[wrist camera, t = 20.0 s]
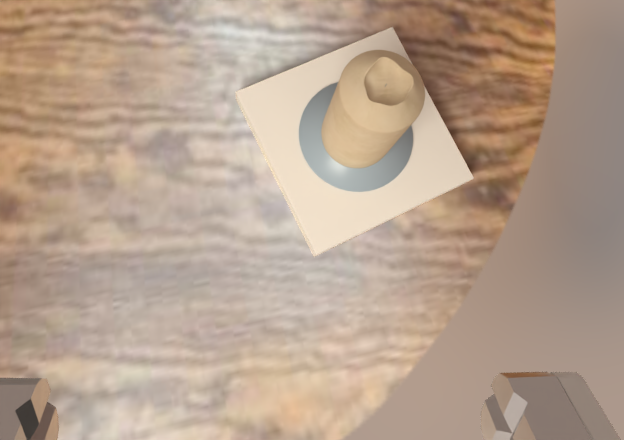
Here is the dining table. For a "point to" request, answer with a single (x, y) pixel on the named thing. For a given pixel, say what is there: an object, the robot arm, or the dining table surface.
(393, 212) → the base board
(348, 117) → the candle
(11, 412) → the robot arm
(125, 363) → the dining table surface
